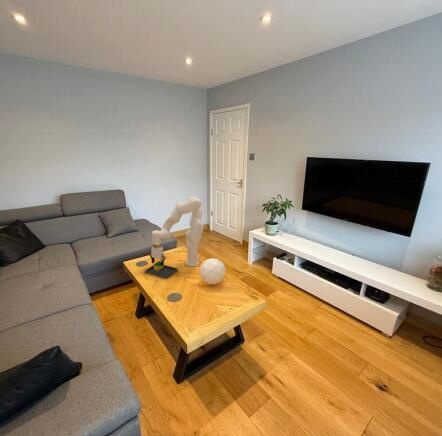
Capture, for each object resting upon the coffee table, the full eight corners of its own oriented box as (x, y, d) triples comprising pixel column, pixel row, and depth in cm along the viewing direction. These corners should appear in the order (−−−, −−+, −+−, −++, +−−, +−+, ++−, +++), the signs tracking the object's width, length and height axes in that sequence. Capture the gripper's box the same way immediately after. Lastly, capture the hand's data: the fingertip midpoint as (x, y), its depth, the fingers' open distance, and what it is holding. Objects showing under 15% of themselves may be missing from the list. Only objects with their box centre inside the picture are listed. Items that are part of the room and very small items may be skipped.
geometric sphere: (206, 291, 179) (190, 272, 175) (218, 273, 192) (203, 255, 188) (222, 289, 165) (205, 269, 161) (234, 269, 179) (219, 250, 175)
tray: (157, 265, 206) (157, 262, 205) (177, 270, 197) (177, 268, 196) (144, 273, 192) (144, 270, 192) (166, 279, 183) (166, 277, 183)
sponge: (159, 266, 203) (159, 260, 202) (163, 267, 201) (163, 261, 200) (154, 269, 197) (153, 264, 196) (158, 270, 195) (157, 265, 194)
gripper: (168, 245, 193) (168, 264, 197) (151, 241, 200) (152, 260, 205) (162, 248, 186) (163, 268, 191) (145, 244, 193) (146, 263, 198)
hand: (157, 264), depth 198 cm, fingers open, 9 cm apart
